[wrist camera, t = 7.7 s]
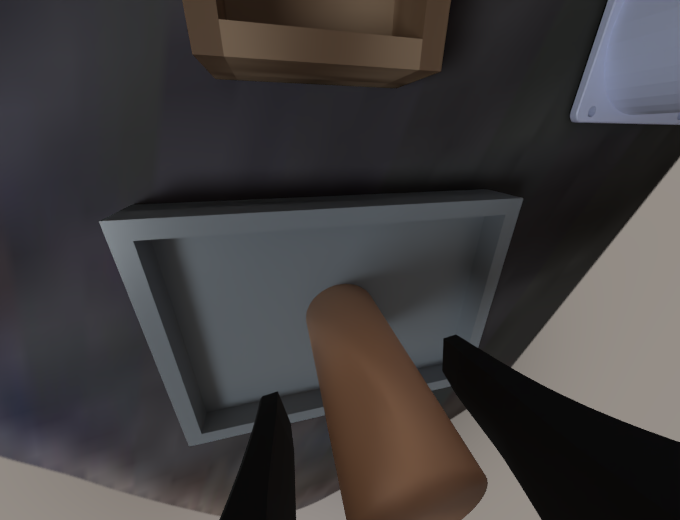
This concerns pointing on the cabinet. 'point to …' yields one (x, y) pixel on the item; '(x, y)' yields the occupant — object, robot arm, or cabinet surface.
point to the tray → (300, 288)
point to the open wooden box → (319, 40)
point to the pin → (385, 418)
